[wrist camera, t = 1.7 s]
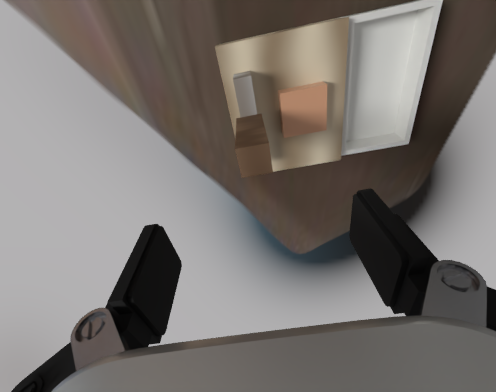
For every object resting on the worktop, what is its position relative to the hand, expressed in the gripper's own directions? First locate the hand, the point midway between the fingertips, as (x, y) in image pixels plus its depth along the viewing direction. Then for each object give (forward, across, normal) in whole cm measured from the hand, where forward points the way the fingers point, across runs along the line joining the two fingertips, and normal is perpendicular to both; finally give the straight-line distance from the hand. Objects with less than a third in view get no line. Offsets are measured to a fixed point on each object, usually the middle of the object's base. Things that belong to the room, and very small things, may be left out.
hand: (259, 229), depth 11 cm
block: (+17, -6, 0) cm, 18 cm away
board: (+21, -4, 0) cm, 21 cm away
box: (+21, -15, 0) cm, 25 cm away
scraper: (+17, 0, 0) cm, 17 cm away
